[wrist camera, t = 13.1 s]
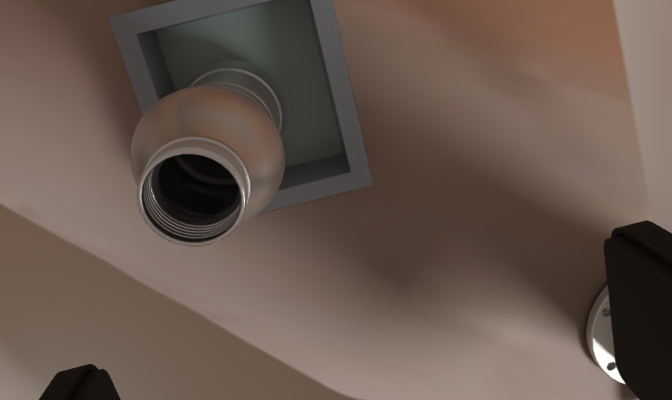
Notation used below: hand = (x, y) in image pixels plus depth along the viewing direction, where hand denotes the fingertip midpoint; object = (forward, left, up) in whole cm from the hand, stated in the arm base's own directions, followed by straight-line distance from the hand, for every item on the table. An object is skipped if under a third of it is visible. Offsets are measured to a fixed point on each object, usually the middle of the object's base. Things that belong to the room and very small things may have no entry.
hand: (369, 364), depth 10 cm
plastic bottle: (+1, +5, -30) cm, 30 cm away
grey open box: (+1, +3, -31) cm, 31 cm away
